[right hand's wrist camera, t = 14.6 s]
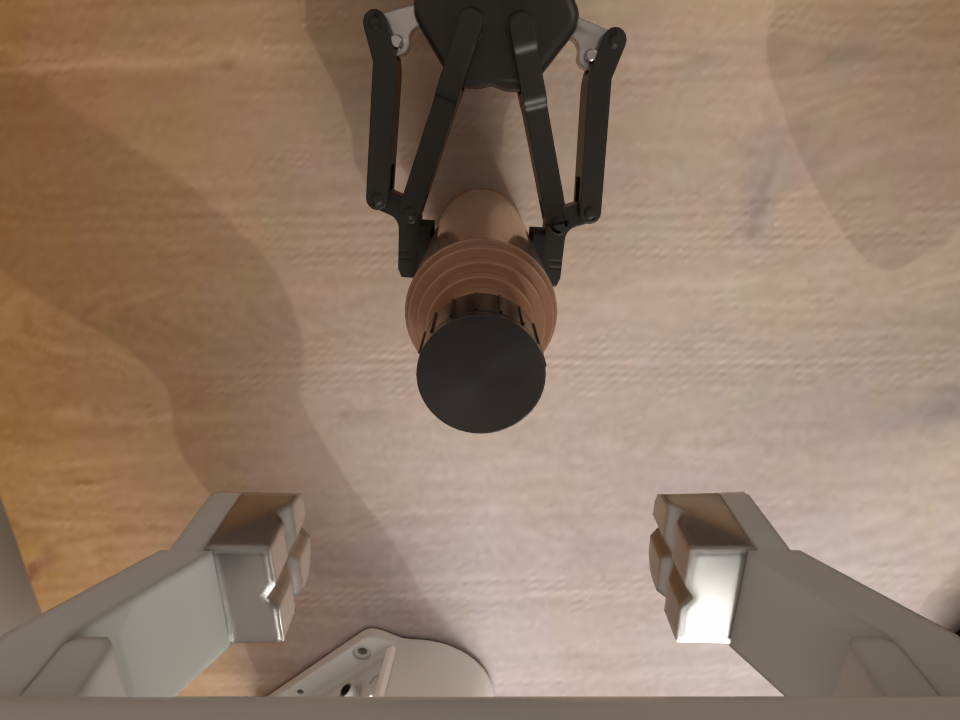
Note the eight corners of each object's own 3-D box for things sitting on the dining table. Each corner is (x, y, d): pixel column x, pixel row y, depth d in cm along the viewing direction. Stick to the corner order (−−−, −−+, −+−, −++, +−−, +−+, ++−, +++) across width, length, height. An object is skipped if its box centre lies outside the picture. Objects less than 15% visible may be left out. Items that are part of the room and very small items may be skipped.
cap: (522, 277, 18) (528, 297, 16) (551, 384, 20) (560, 417, 17) (407, 309, 19) (397, 334, 16) (443, 412, 20) (438, 448, 18)
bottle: (510, 178, 40) (554, 247, 16) (531, 260, 42) (599, 431, 18) (428, 203, 40) (352, 305, 16) (453, 283, 42) (417, 477, 18)
